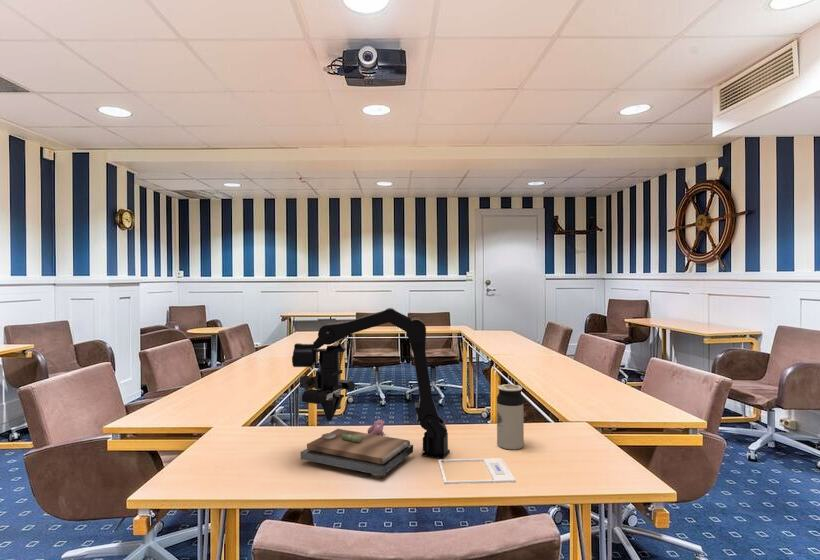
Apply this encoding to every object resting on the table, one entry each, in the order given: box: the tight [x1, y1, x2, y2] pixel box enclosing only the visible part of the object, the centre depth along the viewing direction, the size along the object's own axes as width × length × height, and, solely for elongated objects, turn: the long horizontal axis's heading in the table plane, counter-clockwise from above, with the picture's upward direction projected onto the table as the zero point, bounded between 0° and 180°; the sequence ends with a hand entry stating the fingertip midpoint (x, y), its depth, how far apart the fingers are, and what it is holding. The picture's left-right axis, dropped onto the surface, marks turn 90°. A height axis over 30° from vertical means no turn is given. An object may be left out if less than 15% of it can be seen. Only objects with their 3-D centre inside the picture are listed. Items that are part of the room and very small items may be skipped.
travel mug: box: [496, 383, 525, 450], centre depth 141 cm, size 8×8×18 cm
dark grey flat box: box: [300, 444, 414, 479], centre depth 130 cm, size 26×18×4 cm
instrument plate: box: [306, 428, 411, 464], centre depth 129 cm, size 25×15×3 cm, turn 64°
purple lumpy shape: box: [367, 419, 386, 436], centre depth 148 cm, size 10×5×7 cm, turn 179°
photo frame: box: [437, 457, 517, 485], centre depth 122 cm, size 15×1×18 cm
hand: (329, 420), depth 134 cm, fingers closed
